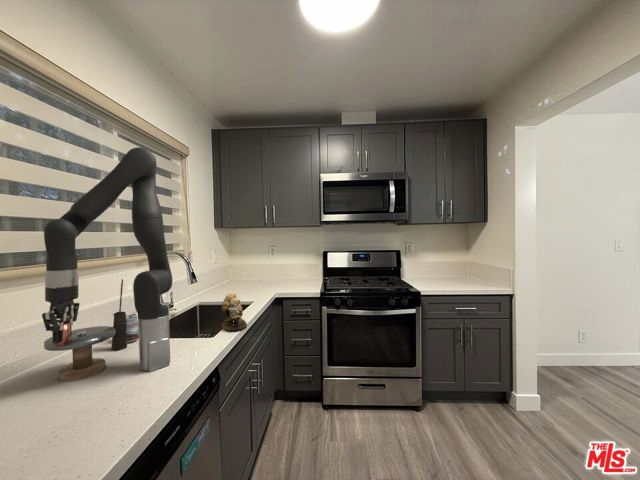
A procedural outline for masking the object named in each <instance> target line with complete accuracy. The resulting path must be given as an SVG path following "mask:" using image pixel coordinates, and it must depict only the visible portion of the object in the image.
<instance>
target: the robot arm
mask: <svg viewBox="0 0 640 480" xmlns="http://www.w3.org/2000/svg"><path fill="white" fill-rule="evenodd" d="M157 165H158V164H157V158H156V156H155V155H154V153H153V152H152V151H151V150H149V149H148V148H145V147H139V146H138V147H133V148H131V149H129V150H128V151H127V152H126V153H125V155H124V156H123V157H122V158H121V159H120V161H119V162H118V163H117V164H116V166H115V167H113V169H112V170H111V171H110V172H109V173H108V174H107V175H106V176H104V178H103V179H102V180H100V181H99V182H98V183H97V184H96V185H94V186H93V187H92V188H91V189H89V190H88V191H87V192H86V193H85V194H84V195H82V196H81V197H80V198H78V200H76V201H75V202H74V203H72V205H71V206H70V209H69V210H68V211H67V212H66V213H64V214H63V215H62V216H61V217H59V218H57V219H53V220H51V221H49V222H47V223H46V225H45V227H44V231H43V238H44V246H45V250H46V261H45V263H46V264H45V266H46V268H45V270H46V271H45V277H44V301H45V302H48V303H50V305H49V309H48V311H47V312H42V314H41V318H42V321H43V325H44V328H45V331H46V332H52V336H51V337H52V342H53V343H61V342H62V341H63V330H62V329H63V323H70V330H71V332H72V331H73V329H72V327H73V324H74V322H77V320H78V316H79V315H78V314H79V308H80V302H75V301H74V300H77V299H79V272H78V253H77V252H76V239H77V237H79V236H80V235H81V234H82V233H83V232H84V231H85V229H86V228H87V227H88V226H89V225H91V223H92V222H93V221H95V220H96V219H98V217H100V216H101V215H102V214H103V213H105V211H107V210H108V209H109V208H110V207H111V206H112V205H113V204H114V203H115V201H117V199H118V198H119V197H120V195H121V194H122V193H123V192H124V191H125V190H126V189H127V188H128V187H129V186H130V185H131V190H132V198H131V199H132V201H131V221H132V230H133V231H132V232H133V234H134V237H135V238H136V241H137V242H138V244H139V245H140V247H141V248H142V249H143V251H144V253H145V254H146V258H147V262H148V269H149V270H146V271H141V272H140V273H138V274H137V275H136V276H135V277H134V279H133V285H132V287H133V288H132V289H133V301H134V309H135V312H136V313H137V321H138V330H139V338H138V354H139V356H138V357H139V369H140V371H148V372H153V371H157V370H159V369H161V368H165V367H168V366H170V363H171V345H170V344H171V343H170V341H171V339H170V315H169V314H170V309H169V306H168V305H166V304H162V302H161V297H160V296H161V295H165V294H166V293H168V292H169V291H170V290H171V288H172V286H173V274H172V271H171V266H170V262H169V258H168V252H167V244H166V238H165V237H166V236H165V227H164V219H163V217H164V216H163V211H162V209H161V204H160V201H159V197H158V193H157V180H156V179H157V177H156V176H157ZM58 324H59V326H58Z"/></svg>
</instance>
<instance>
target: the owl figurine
mask: <svg viewBox="0 0 640 480" xmlns="http://www.w3.org/2000/svg"><path fill="white" fill-rule="evenodd" d="M221 311H222V313H223V314H224V316H226V317H225V319H224V321H223V323H221V329H222V330H223V329H224V330H227V331H226V332H228V331H231V332H232V331H234V332H236V331H243V330H245V329H246V328H247V326H248V324H247V321H245V319H244V318H243V312H244V311H243V307H242V305H241V300H240V298H238V296H237V295H236V293H235V292H229V293H228V294H227V295H226V296H225V298H224V300H222V302H221ZM233 321H236V322H233ZM224 330H223V331H224Z"/></svg>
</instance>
